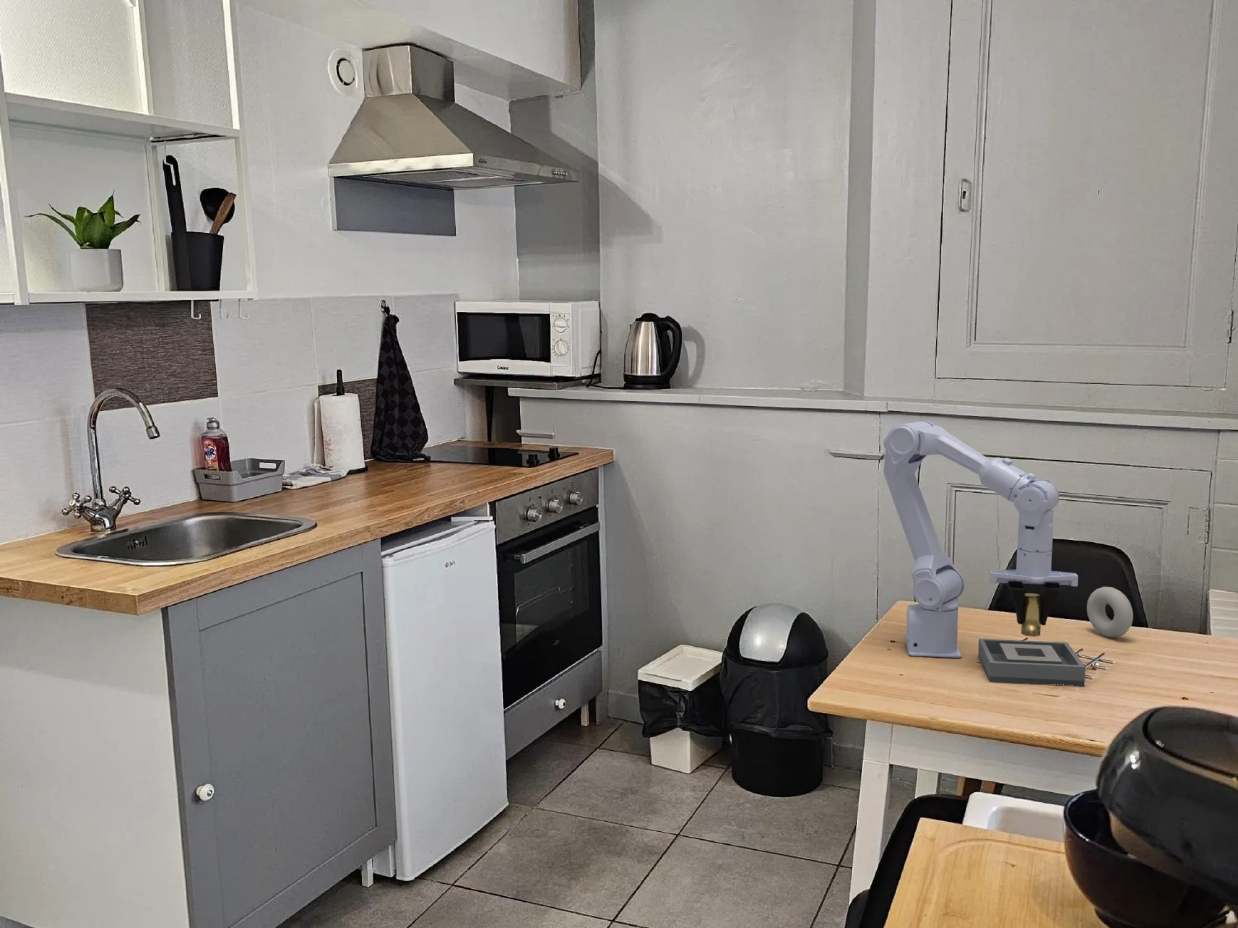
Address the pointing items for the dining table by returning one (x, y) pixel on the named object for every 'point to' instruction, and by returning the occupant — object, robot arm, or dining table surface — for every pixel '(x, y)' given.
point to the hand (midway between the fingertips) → (1031, 623)
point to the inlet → (1028, 653)
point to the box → (1031, 665)
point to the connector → (1031, 615)
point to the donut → (1119, 606)
